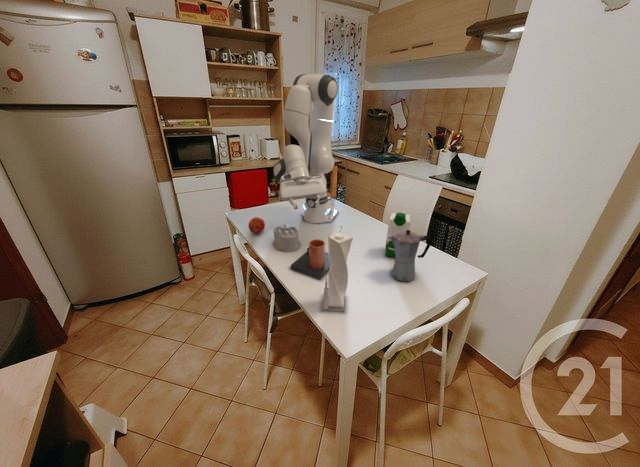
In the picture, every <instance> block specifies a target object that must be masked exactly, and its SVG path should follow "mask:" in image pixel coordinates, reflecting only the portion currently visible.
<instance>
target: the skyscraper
mask: <svg viewBox="0 0 640 467" xmlns="http://www.w3.org/2000/svg"><path fill="white" fill-rule="evenodd" d="M338 228H340V229H339V232H336V233H335V234H332V233H333V231H334V230H336V229H338ZM342 229H343V225H342V224H340V225H337V226H336V227H334V228H332V229H331V231H330V232H329V234H328V235H327V245H328V253H329V260H330V266H329V271H328V277H325V282H324V283H325V284H324V285H325V286H324V288H323V302H322V303H323V304H322V307H323V308H322V311H327V312H337V313H338V312H339V313H345V298H346V294H347V289H348V283H349V270H348V264H347V262H348V257H349V253H350V250H351V246H352V242H353V236H348V235H347V234H345V233H343V232H342Z"/></svg>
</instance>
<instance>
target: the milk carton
mask: <svg viewBox="0 0 640 467" xmlns="http://www.w3.org/2000/svg"><path fill="white" fill-rule="evenodd" d="M388 220H389V221H388V227H387V231H386V232H387V233H386V237H385V238H386V239H385V256H386V257H390V258H394V259H395V258H396V254H395V248H394V246H393V243H392V241H391V239H389V238H390V237H391V236H393V235H396V233H399V232H405V231H406V230H410V225H411V215H410V214H406V213H403V212H392V213H391V215H390V217H389V219H388Z"/></svg>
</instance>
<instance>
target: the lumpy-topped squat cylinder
mask: <svg viewBox="0 0 640 467" xmlns="http://www.w3.org/2000/svg"><path fill="white" fill-rule="evenodd" d="M299 237H300V236H299V230H298V229H297V227H296V226H295V225H291V224H283V225H278V226H277V227H274V228H273V240H274V245H275V246H276V248H277V249H278V250H280V251H284V252H294V251H296V250H298V249H299V247H300V238H299Z"/></svg>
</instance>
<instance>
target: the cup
mask: <svg viewBox="0 0 640 467" xmlns="http://www.w3.org/2000/svg"><path fill="white" fill-rule="evenodd" d="M308 247H309V265H310V267H312V268H314V269H320V268H322V267H324V265H325V252H326V242H325V241H324V240H322V239H312V240H310V241H309V242H308Z"/></svg>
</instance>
